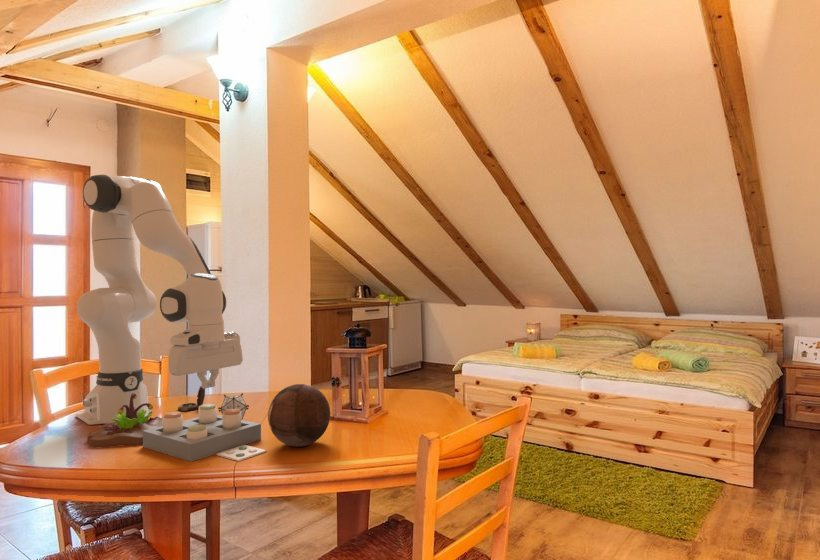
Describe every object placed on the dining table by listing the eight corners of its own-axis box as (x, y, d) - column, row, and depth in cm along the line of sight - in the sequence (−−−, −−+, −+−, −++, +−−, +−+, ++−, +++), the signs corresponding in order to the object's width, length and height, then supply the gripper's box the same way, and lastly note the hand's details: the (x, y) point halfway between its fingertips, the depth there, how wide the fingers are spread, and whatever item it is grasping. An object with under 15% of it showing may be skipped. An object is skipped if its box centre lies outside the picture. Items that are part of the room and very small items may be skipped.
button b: (195, 427, 146) (194, 406, 146) (210, 423, 150) (209, 402, 150) (205, 430, 144) (205, 408, 143) (220, 426, 147) (220, 405, 147)
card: (216, 455, 130) (216, 452, 130) (244, 446, 137) (244, 444, 137) (238, 461, 126) (238, 459, 126) (266, 451, 132) (266, 449, 132)
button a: (159, 437, 138) (158, 414, 138) (176, 432, 142) (175, 410, 142) (169, 440, 135) (169, 417, 135) (186, 435, 139) (186, 413, 139)
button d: (218, 433, 140) (218, 411, 140) (233, 429, 144) (233, 407, 144) (230, 436, 138) (229, 413, 138) (245, 431, 142) (245, 409, 142)
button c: (183, 451, 132) (182, 427, 132) (200, 446, 136) (199, 423, 136) (194, 454, 130) (194, 430, 130) (211, 449, 133) (211, 425, 133)
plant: (181, 424, 159) (180, 385, 159) (164, 444, 140) (163, 400, 140) (105, 429, 156) (104, 389, 156) (77, 450, 137) (76, 405, 136)
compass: (180, 407, 179) (180, 384, 179) (206, 406, 180) (206, 384, 179) (173, 413, 171) (172, 390, 171) (199, 412, 172) (199, 389, 171)
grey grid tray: (142, 447, 137) (142, 430, 137) (212, 427, 154) (212, 413, 154) (191, 461, 126) (190, 444, 126) (261, 439, 142) (260, 423, 142)
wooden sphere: (334, 435, 145) (333, 378, 144) (325, 454, 130) (324, 390, 129) (276, 436, 145) (275, 379, 144) (261, 455, 130) (260, 391, 129)
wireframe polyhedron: (237, 436, 158) (237, 413, 152) (211, 424, 160) (210, 401, 154) (255, 414, 165) (255, 392, 159) (230, 403, 167) (230, 380, 161)
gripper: (232, 330, 157) (233, 379, 157) (164, 338, 140) (166, 393, 140) (246, 331, 153) (248, 381, 153) (178, 339, 136) (180, 396, 136)
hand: (208, 387), depth 146 cm, fingers closed
